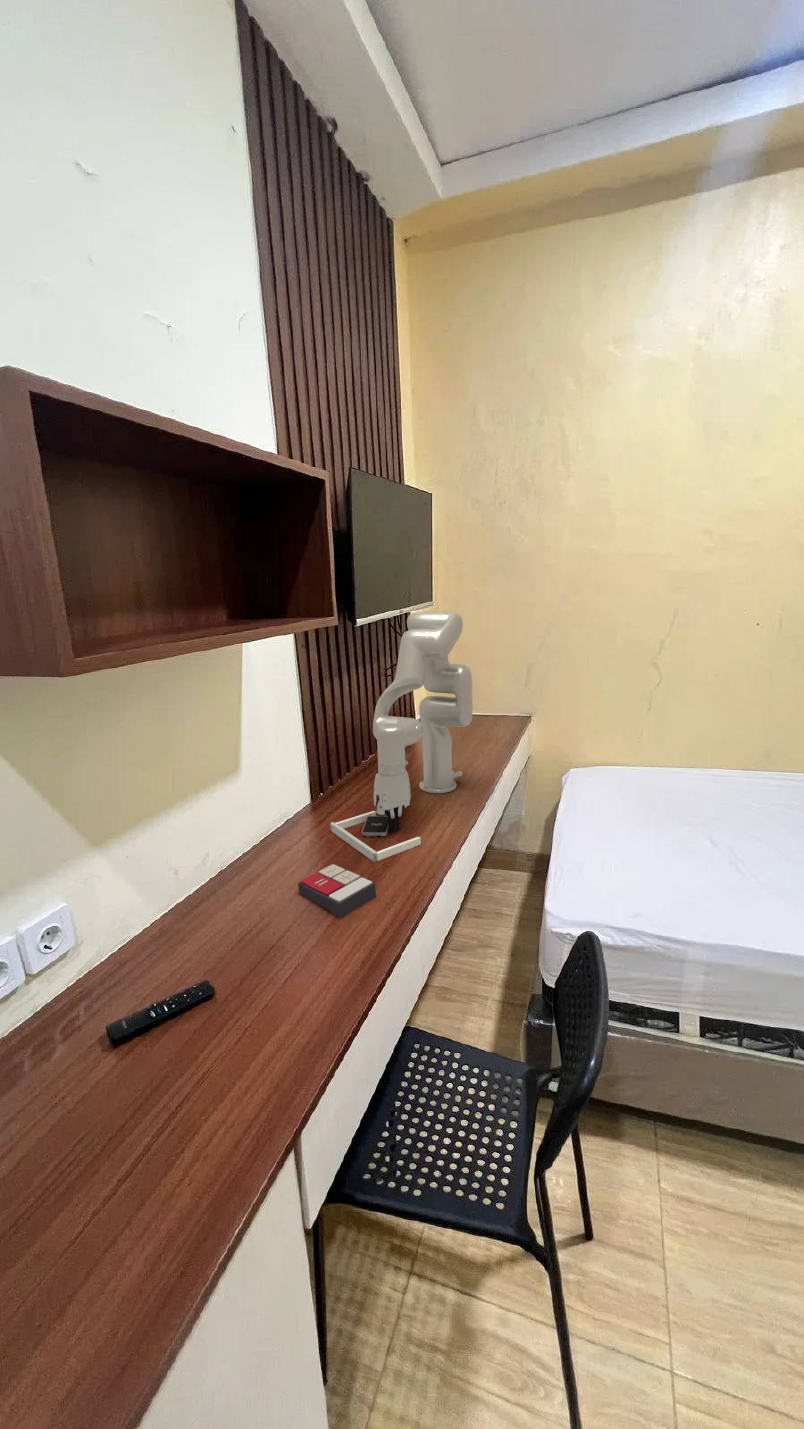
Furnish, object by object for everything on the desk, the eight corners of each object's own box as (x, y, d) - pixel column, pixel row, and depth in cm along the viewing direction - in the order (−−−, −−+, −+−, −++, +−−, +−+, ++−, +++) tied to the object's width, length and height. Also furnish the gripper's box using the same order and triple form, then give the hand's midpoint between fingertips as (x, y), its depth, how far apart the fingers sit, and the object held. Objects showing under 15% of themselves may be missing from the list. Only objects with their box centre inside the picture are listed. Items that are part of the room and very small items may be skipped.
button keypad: (333, 861, 138) (375, 879, 128) (334, 877, 139) (377, 896, 129) (296, 880, 131) (338, 900, 120) (298, 896, 132) (340, 918, 121)
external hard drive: (362, 839, 158) (361, 832, 158) (367, 822, 169) (367, 815, 168) (386, 839, 157) (386, 832, 157) (390, 822, 168) (390, 816, 168)
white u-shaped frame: (374, 816, 171) (374, 809, 170) (420, 844, 152) (420, 836, 152) (330, 830, 162) (330, 822, 162) (374, 862, 144) (373, 853, 143)
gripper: (405, 759, 164) (407, 817, 168) (361, 770, 155) (365, 831, 160) (421, 765, 158) (422, 825, 162) (376, 778, 149) (379, 841, 154)
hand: (394, 828), depth 161 cm, fingers closed
